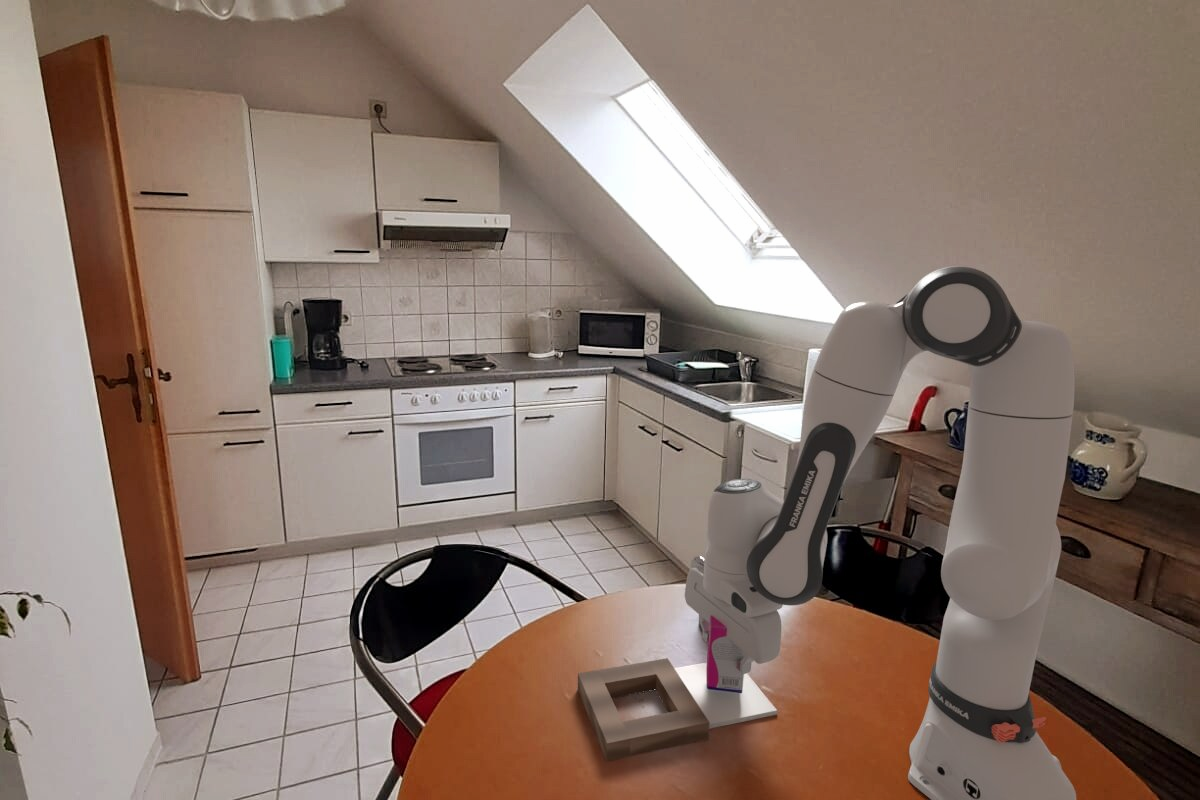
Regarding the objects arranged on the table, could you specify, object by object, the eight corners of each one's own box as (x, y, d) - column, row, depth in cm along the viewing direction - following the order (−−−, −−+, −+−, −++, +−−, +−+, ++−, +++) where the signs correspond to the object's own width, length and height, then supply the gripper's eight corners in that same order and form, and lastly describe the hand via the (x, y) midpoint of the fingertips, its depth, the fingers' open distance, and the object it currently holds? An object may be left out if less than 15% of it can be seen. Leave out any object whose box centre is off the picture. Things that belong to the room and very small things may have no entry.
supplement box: (740, 670, 108) (745, 610, 105) (742, 694, 102) (748, 630, 99) (705, 666, 108) (710, 606, 106) (705, 689, 103) (710, 626, 100)
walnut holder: (708, 739, 95) (709, 722, 94) (606, 761, 90) (607, 743, 90) (666, 673, 110) (667, 658, 109) (577, 689, 105) (577, 673, 105)
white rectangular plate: (776, 714, 101) (777, 710, 101) (708, 728, 97) (708, 724, 97) (733, 661, 114) (734, 657, 114) (672, 672, 110) (672, 668, 110)
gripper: (678, 554, 109) (674, 627, 112) (758, 613, 91) (751, 698, 94) (708, 547, 111) (703, 618, 114) (791, 604, 94) (783, 686, 97)
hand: (725, 655), depth 104 cm, fingers closed on supplement box, 7 cm apart
